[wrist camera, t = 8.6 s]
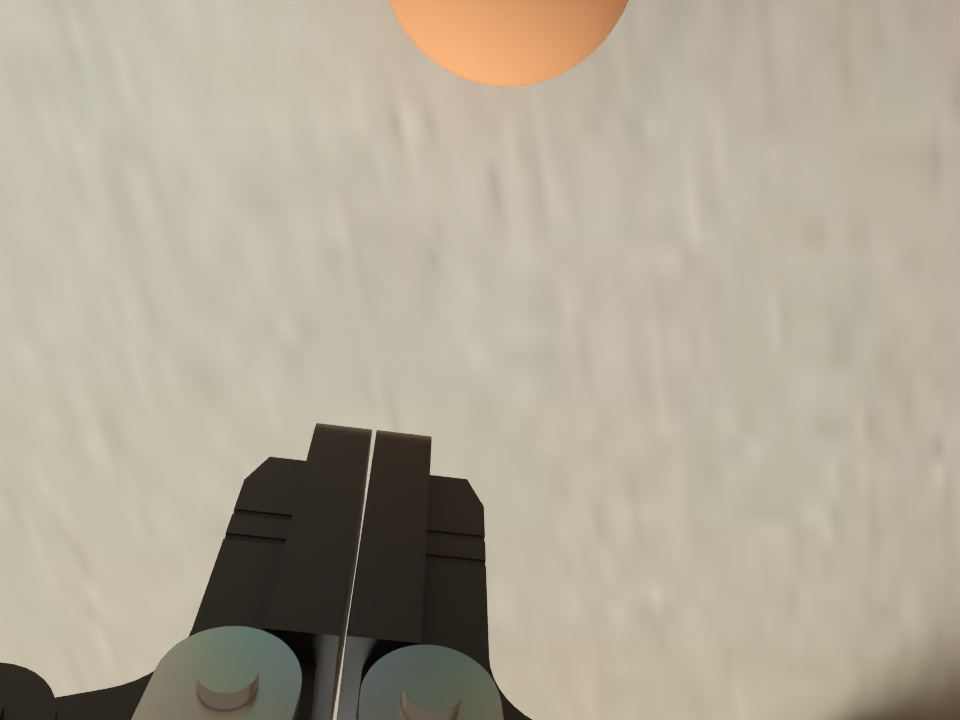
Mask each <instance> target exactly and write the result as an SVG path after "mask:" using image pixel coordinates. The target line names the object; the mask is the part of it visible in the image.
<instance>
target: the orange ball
mask: <svg viewBox="0 0 960 720" xmlns="http://www.w3.org/2000/svg"><path fill="white" fill-rule="evenodd" d="M389 2H390V4H391V6H392V9H393V11H394V13H395V15H396V17H397V19H398V21H399V22H400V24H401V26H402V27H403V29H404V30H405V32H406V33H407V34H408V36H409V37H410V38H411V40H412V41H413V42H414V43H415V44H416V45H417V46H418V48H419V49H420V50H422V51H423V52H424V53H425V54H426V55H427V56H428V57H430V58H431V59H432V60H433V61H434V62H435V63H437V64H438V65H440V66H441V67H443V68H445V69H446V70H448V71H450V72H452V73H454V74H456V75H458V76H460V77H462V78H465V79H468V80H471V81H474V82H477V83H482V84H487V85H494V86H522V85H529V84H534V83H538V82H541V81H545V80H548V79H550V78H553V77H555V76H558V75H560V74H562V73H564V72H566V71H567V70H569V69H571V68H572V67H574V66H575V65H577V64H578V63H580V62H581V61H582V60H584V59H585V58H586V57H587V56H588V55H590V54H591V53H592V52H593V51H594V50H595V49H596V48H597V47H598V46H599V45H600V44H601V43H602V42H603V41H604V40H605V38H606V37H607V36H608V35H609V33H610V32H611V31H612V29H613V28H614V26H615V25H616V23H617V21H618V20H619V18H620V17H621V15H622V13H623V11H624V9H625V7H626V5H627V2H628V0H389Z"/></svg>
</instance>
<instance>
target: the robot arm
mask: <svg viewBox="0 0 960 720" xmlns="http://www.w3.org/2000/svg"><path fill="white" fill-rule="evenodd" d="M371 436H372V430H369V429H361V428H352V427H344V426H336V425H327V424H319V423H317V424H316V426H315V430H314V434H313V437H312V441H311V445H310V449H309V453H308V457H307V461H301V460H293V459H284V458H275V457H269V458H268V459H267V460H266V461H265V462H264V463H262V464H261V465H260V466H259V467H258V468H257V469H256V470H255V471H254V472H253V473H251V474H250V475H249V476H248V477H247V478H246V479H245V480H244V482H243V485H242V488H241V491H240V494H239V497H238V500H237V502H236V505H235V508H234V514H232V517H231V520H230V522H229V525H228V528H227V531H226V536H225V539H223V542H222V545H221V548H220V551H219V554H218V557H217V559H216V562H215V565H214V568H213V571H212V574H211V577H210V579H209V582H208V585H207V588H206V591H205V594H204V597H203V599H202V602H201V605H200V608H199V611H198V614H197V616H196V619H195V622H194V625H193V628H192V630H191V633H190V635H189V637H188V638H186V639H184V640H183V641H181V642H179V643H178V644H177V645H175V646H174V647H173V648H172V649H171V650H169V651H168V652H167V654H166V655H165V656H164V657H163V658H162V659H161V661H160V662H159V664H158V666H157V667H156V669H155V671H153V672H152V673H150V674H148V675H146V676H144V677H142V678H140V679H138V680H135V681H133V682H130V683H127V684H124V685H121V686H116V687H112V688H108V689H102V690H97V691H91V692H85V693H79V694H74V695H68V696H62V697H57V698H55V697H54V695H53V692H52V690H51V688H50V687H49V685H48V684H47V683H46V681H45V680H44V679H43V678H41V677H40V676H39V675H38V674H36V673H35V672H33V671H31V670H29V669H27V668H24V667H21V666H17V665H14V664H7V663H0V720H333V714H334V707H335V701H336V694H337V687H338V681H339V674H340V667H341V661H342V654H343V647H344V640H345V634H346V627H347V620H348V614H349V607H350V600H351V594H352V587H353V580H354V574H355V567H356V560H357V552H358V545H359V537H360V529H361V521H362V513H363V504H364V496H365V487H366V479H367V470H368V462H369V453H370V445H371ZM430 458H431V437H430V436H421V435H413V434H404V433H396V432H388V431H379V430H377V433H376V439H375V446H374V453H373V459H372V466H371V473H370V480H369V486H368V493H367V500H366V507H365V513H364V520H363V527H362V534H361V541H360V547H359V554H358V561H357V568H356V574H355V581H354V588H353V595H352V601H351V608H350V615H349V622H348V628H347V635H346V643H345V652H344V661H343V669H342V678H341V686H340V695H339V704H338V712H337V720H532V719H530V718H529V717H527V716H525V715H524V714H523V713H521V712H520V711H519V710H518V709H517V708H515V707H514V706H513V705H512V704H511V703H510V702H509V701H508V700H507V698H506V697H505V696H504V695H503V693H502V692H501V690H500V689H499V687H498V686H497V684H496V682H495V680H494V678H493V675H492V671H491V668H490V662H489V644H488V616H487V588H486V566H485V542H484V537H485V531H484V506H483V505H482V503H481V502H480V500H479V498H478V497H477V495H476V493H475V492H474V490H473V489H472V487H471V485H470V484H469V482H468V480H467V479H459V478H451V477H442V476H433V475H430Z"/></svg>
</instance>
